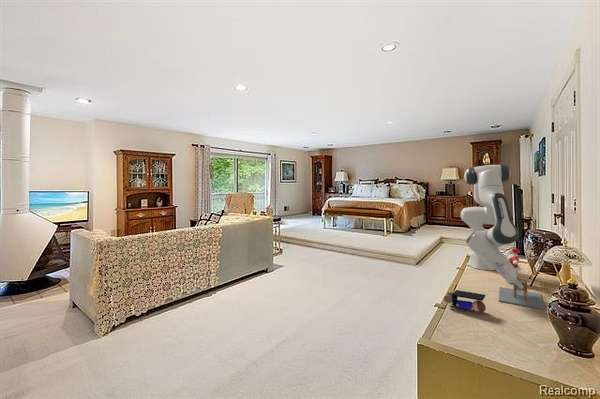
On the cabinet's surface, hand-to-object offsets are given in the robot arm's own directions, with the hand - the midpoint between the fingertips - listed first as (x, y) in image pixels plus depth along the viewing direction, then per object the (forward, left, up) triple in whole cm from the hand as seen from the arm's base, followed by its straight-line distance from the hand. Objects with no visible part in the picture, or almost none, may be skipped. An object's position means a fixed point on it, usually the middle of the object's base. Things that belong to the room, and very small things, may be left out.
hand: (522, 284), depth 131 cm
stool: (0, -1, -6) cm, 6 cm away
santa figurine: (-24, -3, -7) cm, 25 cm away
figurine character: (+27, -21, -7) cm, 35 cm away
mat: (0, -1, -7) cm, 7 cm away
